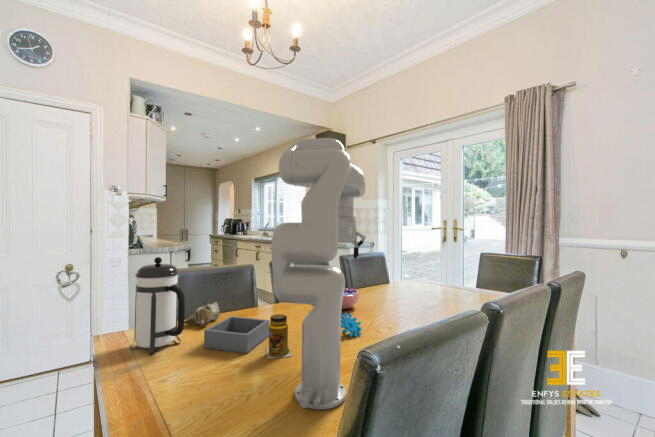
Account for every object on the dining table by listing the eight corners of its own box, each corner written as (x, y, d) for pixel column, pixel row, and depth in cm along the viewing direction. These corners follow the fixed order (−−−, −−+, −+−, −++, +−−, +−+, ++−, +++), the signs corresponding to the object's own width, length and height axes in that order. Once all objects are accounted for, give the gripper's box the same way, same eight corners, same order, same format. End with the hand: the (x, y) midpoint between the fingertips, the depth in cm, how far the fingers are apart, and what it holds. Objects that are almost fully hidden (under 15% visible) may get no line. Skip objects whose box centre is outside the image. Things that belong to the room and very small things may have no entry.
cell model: (365, 306, 157) (365, 284, 157) (347, 315, 140) (347, 291, 140) (337, 301, 166) (337, 280, 166) (316, 309, 149) (317, 286, 149)
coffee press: (120, 359, 92) (123, 260, 93) (138, 340, 108) (140, 255, 108) (183, 353, 97) (185, 259, 97) (191, 335, 112) (193, 254, 113)
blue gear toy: (347, 336, 109) (337, 312, 115) (338, 345, 112) (328, 320, 118) (368, 334, 116) (357, 311, 122) (359, 342, 119) (349, 319, 125)
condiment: (268, 359, 94) (269, 320, 94) (265, 348, 102) (266, 312, 102) (291, 356, 96) (292, 318, 96) (287, 346, 104) (287, 311, 104)
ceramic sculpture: (226, 299, 132) (202, 310, 118) (227, 318, 132) (202, 332, 118) (206, 297, 135) (180, 308, 121) (206, 316, 136) (181, 329, 121)
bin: (247, 354, 97) (247, 335, 97) (203, 348, 101) (204, 330, 101) (269, 336, 113) (269, 320, 113) (230, 331, 117) (231, 316, 117)
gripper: (318, 212, 115) (318, 257, 114) (364, 212, 110) (364, 259, 110) (324, 213, 122) (323, 255, 121) (367, 213, 117) (367, 257, 117)
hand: (342, 257), depth 116 cm, fingers open, 9 cm apart
